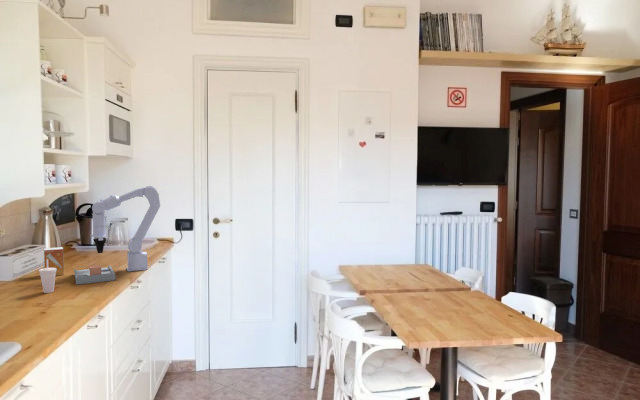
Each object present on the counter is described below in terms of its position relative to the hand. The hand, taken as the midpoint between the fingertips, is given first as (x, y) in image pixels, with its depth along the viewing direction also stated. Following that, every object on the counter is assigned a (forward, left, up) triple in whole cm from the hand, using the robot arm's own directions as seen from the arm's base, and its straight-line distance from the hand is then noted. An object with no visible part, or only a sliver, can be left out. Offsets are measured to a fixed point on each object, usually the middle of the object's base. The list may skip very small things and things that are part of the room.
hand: (100, 252), depth 221 cm
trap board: (+4, +10, -10) cm, 15 cm away
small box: (+20, -6, -10) cm, 23 cm away
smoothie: (+22, +28, -10) cm, 37 cm away
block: (+4, +17, -8) cm, 19 cm away
